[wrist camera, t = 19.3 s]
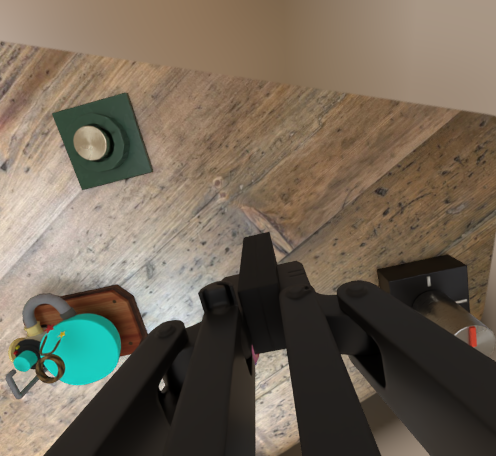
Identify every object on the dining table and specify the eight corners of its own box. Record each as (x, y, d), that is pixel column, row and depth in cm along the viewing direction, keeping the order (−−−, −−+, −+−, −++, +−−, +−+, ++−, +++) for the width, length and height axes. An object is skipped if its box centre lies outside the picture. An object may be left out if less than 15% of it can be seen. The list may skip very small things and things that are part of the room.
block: (127, 93, 38) (119, 89, 35) (153, 171, 40) (147, 173, 38) (55, 113, 39) (41, 111, 36) (84, 189, 41) (74, 192, 39)
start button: (106, 122, 37) (99, 121, 35) (117, 155, 38) (111, 155, 36) (76, 131, 37) (67, 130, 36) (88, 163, 38) (80, 164, 37)
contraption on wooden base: (11, 291, 46) (-103, 360, 31) (122, 267, 44) (57, 327, 30) (48, 367, 49) (-39, 460, 35) (152, 347, 48) (107, 436, 33)
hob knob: (451, 319, 41) (499, 362, 33) (414, 326, 41) (452, 370, 33) (448, 286, 40) (497, 322, 32) (410, 294, 40) (448, 332, 32)
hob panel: (448, 254, 43) (468, 265, 39) (452, 315, 45) (472, 331, 41) (376, 269, 43) (389, 282, 39) (385, 328, 46) (397, 346, 42)
